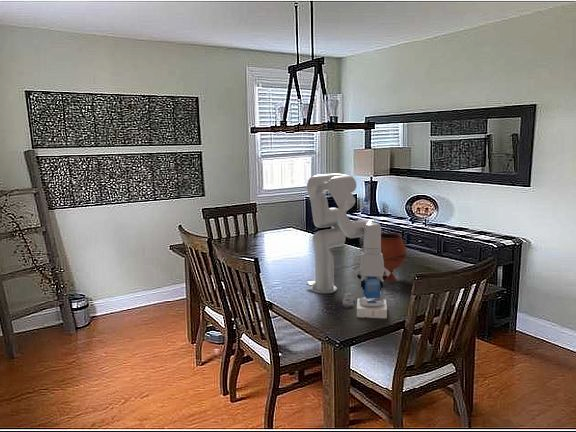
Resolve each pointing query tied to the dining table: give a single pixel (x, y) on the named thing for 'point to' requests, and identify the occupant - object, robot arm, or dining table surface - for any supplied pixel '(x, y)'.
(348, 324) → the dining table surface
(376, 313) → the scale
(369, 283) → the perfume bottle
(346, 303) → the spacer
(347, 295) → the ring
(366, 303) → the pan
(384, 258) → the goblet
